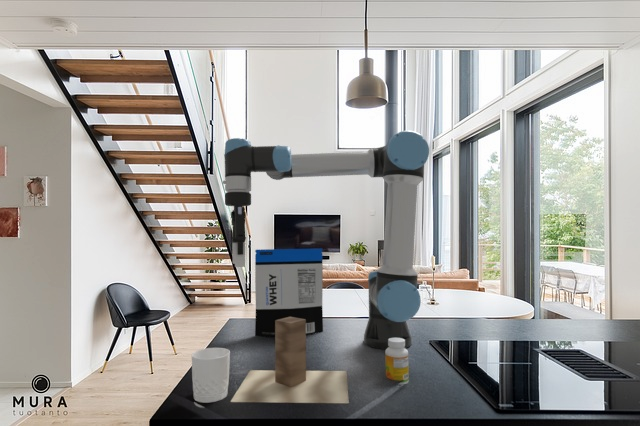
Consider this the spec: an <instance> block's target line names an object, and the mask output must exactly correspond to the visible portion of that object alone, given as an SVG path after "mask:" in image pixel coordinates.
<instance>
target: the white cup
mask: <svg viewBox="0 0 640 426" xmlns="http://www.w3.org/2000/svg"><path fill="white" fill-rule="evenodd" d="M230 363H231V351H230V349H228V348H225V347H206V348H202V349H199V350H196V351H194V352H192V354H191V372H192V373H191V378H192V391H193V399H194V402H193V404H194V405H195V406H196V407H197V408H200V409H206V407H205V406H203V405H201V404H198V403H207V404H208V403H215V402H218V401H221V400H224V399H225V398H226V397H227V396H228V392H229V390H228V389H229V380H230V366H231V365H230ZM195 401H196V402H195ZM197 402H198V403H197Z"/></svg>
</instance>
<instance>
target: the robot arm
mask: <svg viewBox="0 0 640 426" xmlns="http://www.w3.org/2000/svg"><path fill="white" fill-rule="evenodd" d="M291 149H292V148H291V147H290V146H286V145H267V146H263V145H262V146H261V145H260V146H254V145H252V144H251V141H250V140H249V139H246V138H240V137H237V138H236V137H235V138H229V139H227V140H226V141H225V145H224V153H223V155H224V180H223V181H222V184H223V185H225V187H224V190H225V193H224V205H225V206H228V207H233V209H232V211H231V212H230V219H231V226H232V237H231V239H232V240H231V241H232V246H231V247H232V264H234V267H235V268H245V267H246V239H247V237H246V213H247V212H246V211H245V210H246V208H245V207H249V206H251V205H252V194H251V193H250V192H251V191H252V173H266V175H267V176H268V177H270V179H272V180H276V181H280V180H283V179H289V178H309V177H311V178H312V177H335V176H336V177H337V176H340V177H341V176H363V175H368V176H369V177H370V178H382V179H383V180H384V181H385V182H386V184H387V191H386V204H385V205H386V207H385V221H384V238H383V239H384V240H383V250H382V251H383V252H382V253H383V255H382V265H381V266H380V267H379V268H378V269H377V270H375V271H374V270H373V271H370V272H369V273H368V278H367V283H368V320H367V324H366V326H365V327H366V328H365V330H364V334H363V343H364V345H366V346H368V347H370V348H373V349H379V350H380V349H381V350H386V349H387V348H388V347H389V346H388V339H389V338H402V339H404V340H405V347H404V348H405V349H408V348H409V347H411V346H412V344H413V343H412V335H411V332H410V329H409V325H408V323H407V321H409V320H411V319H412V318H414V317H415V316H416V315H417V314H418V312H419V310H420V308H421V301H422V300H421V295H420V291H419V289H418V276H419V274H418V272H417V271H416V270H415V269H414V253H415V252H414V251H415V249H414V248H415V235H416V220H417V219H416V218H417V217H416V215H417V200H418V199H417V198H418V186H419V184H420V183H421V182H423V180H424V173H425V172H424V170H425V165H426V163H427V160H428V158H429V155H430V147H429V143H428V141H427V140H426V138H424V136H423V135H422V134H420V132H416V131H413V130H402V131H399V132H397V133H396V134H393V135H392V136H391V137H390V138H389V140H388V142H387V144H385V145H383V146H380V147H372V148H369V150H367V151H348V152H324V153H323V152H321V153H301V154H300V153H298V154H297V153H296V154H292V150H291Z"/></svg>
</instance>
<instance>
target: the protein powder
mask: <svg viewBox="0 0 640 426" xmlns="http://www.w3.org/2000/svg"><path fill="white" fill-rule="evenodd" d="M254 252H255V255H254V256H255V258H254V259H255V263H254V265H255V266H254V267H255V269H254V271H255V272H254V273H255V274H254V275H255V277H254V279H255V281H254V282H255V284H254V285H255V292H254V293H255V320H254V321H255V324H254V325H255V328H254V329H255V331H254V336H255V337H262V338H274V339H275V320H278V319H282V318H287V317H295V318H301V319H306V337H307V336H311V335H316V334H318V332H319V333H323V332H324V320H323V319H324V316H323V288H324V287H323V281H324V280H323V278H324V277H323V276H324V275H323V273H324V272H323V248H283V249H282V248H277V249H275V248H271V249H255V250H254ZM315 333H316V334H315Z"/></svg>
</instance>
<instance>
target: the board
mask: <svg viewBox="0 0 640 426" xmlns="http://www.w3.org/2000/svg"><path fill="white" fill-rule="evenodd" d="M347 374H348V373H347V370H306V381H304V382H302V383H300V384H298V385H296V386H293V387H288V386H285V385H282V384H279V383H276V382H275V369H274V370H272V369H271V370H265V369H264V370H261V369H260V370H257V369H254V370H253V369H250V370H249V371H248V373H247V375H246V376H245V378H244V380H243V381H242V382H241V384H240V386H239V388H238V389H237V390H236V392H235V394H234V395H233V397H232V398H231V400H230V403H269V404H270V403H277V404H278V403H280V404H282V403H284V404H287V403H289V404H291V403H293V404H350V402H349V401H350V400H349V387H348V375H347Z"/></svg>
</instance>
